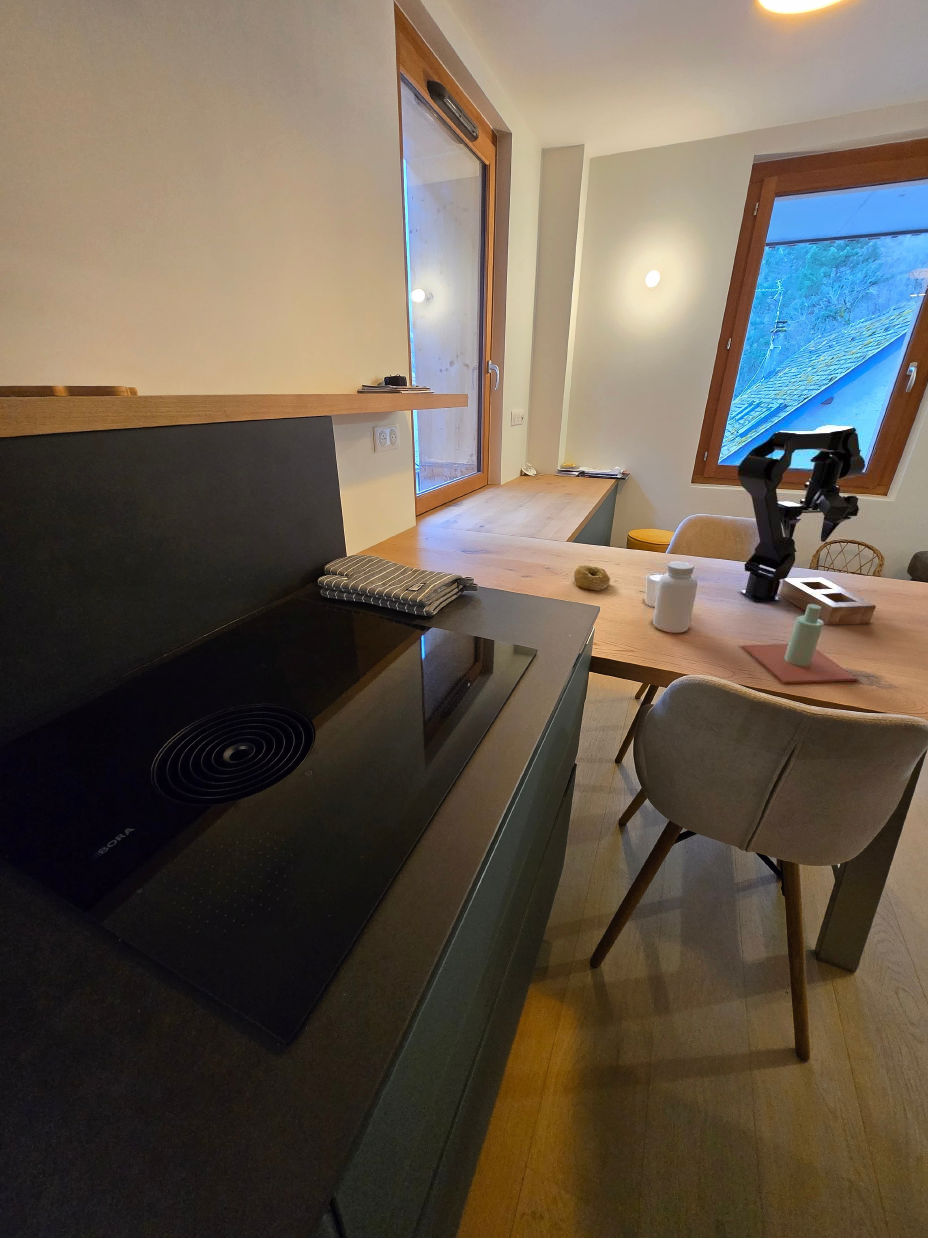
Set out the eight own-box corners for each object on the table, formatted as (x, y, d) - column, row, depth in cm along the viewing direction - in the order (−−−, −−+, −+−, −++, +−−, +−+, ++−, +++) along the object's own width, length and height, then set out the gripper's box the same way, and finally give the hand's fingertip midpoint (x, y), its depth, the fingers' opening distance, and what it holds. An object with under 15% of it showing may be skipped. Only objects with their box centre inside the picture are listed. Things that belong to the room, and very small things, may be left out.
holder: (826, 624, 114) (832, 607, 112) (778, 594, 130) (783, 578, 128) (869, 623, 114) (876, 605, 112) (816, 593, 130) (821, 577, 128)
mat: (783, 683, 92) (784, 681, 92) (742, 647, 105) (743, 645, 104) (856, 680, 93) (857, 678, 92) (806, 645, 105) (807, 643, 105)
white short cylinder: (670, 599, 128) (675, 574, 125) (671, 610, 122) (676, 583, 119) (642, 596, 130) (646, 571, 127) (642, 606, 124) (646, 580, 121)
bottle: (793, 667, 96) (811, 611, 91) (779, 655, 100) (795, 601, 95) (815, 666, 96) (834, 610, 91) (800, 655, 100) (818, 601, 95)
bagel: (583, 593, 133) (584, 576, 130) (567, 579, 142) (568, 563, 140) (617, 590, 134) (619, 573, 132) (599, 576, 144) (600, 560, 142)
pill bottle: (646, 619, 118) (655, 559, 111) (678, 617, 118) (690, 558, 112) (661, 634, 110) (672, 571, 104) (695, 632, 111) (708, 570, 104)
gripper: (808, 487, 114) (790, 552, 120) (886, 485, 114) (864, 550, 121) (778, 479, 124) (763, 539, 130) (851, 477, 124) (831, 537, 131)
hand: (805, 542), depth 128 cm, fingers open, 9 cm apart
